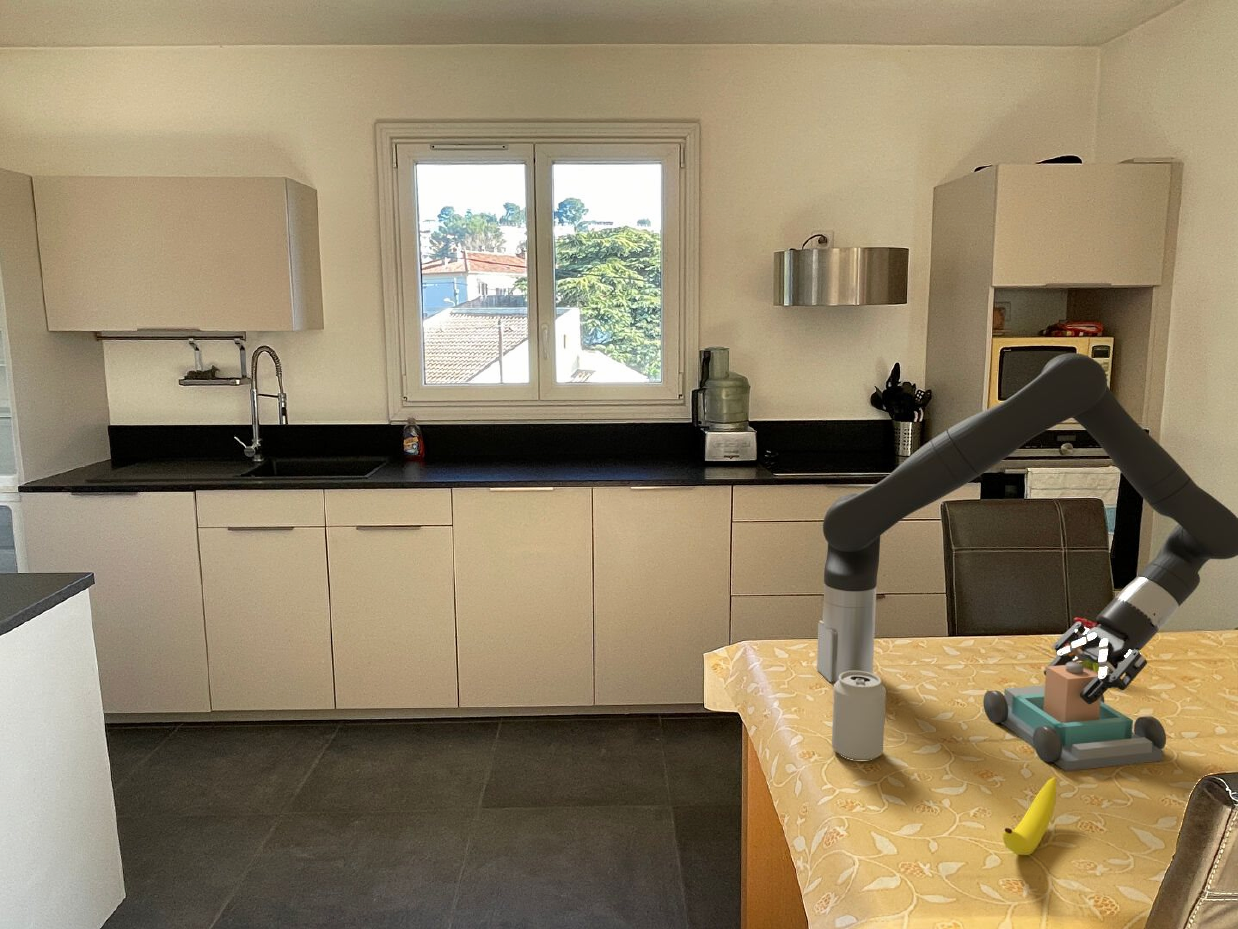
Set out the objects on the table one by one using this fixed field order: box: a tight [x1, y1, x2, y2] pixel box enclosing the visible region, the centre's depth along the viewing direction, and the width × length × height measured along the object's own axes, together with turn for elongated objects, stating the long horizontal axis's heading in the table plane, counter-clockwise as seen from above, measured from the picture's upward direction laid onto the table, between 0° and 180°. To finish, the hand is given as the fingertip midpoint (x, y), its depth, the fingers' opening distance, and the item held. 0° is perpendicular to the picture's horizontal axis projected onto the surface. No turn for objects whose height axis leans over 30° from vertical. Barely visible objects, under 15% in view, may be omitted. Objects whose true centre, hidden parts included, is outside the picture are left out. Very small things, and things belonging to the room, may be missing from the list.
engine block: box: [1043, 662, 1101, 723], centre depth 139 cm, size 6×5×10 cm
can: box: [831, 671, 887, 760], centre depth 134 cm, size 8×8×12 cm
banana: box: [1002, 776, 1057, 856], centre depth 112 cm, size 3×19×6 cm, turn 139°
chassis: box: [983, 684, 1167, 772], centre depth 140 cm, size 18×20×5 cm
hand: (1065, 688), depth 139 cm, fingers open, 8 cm apart
